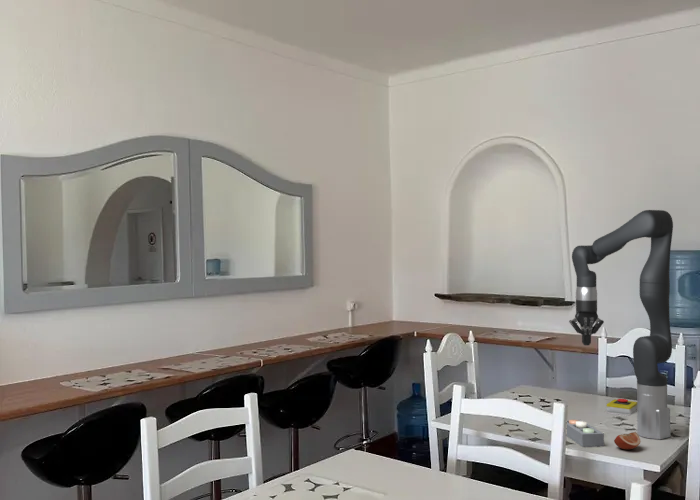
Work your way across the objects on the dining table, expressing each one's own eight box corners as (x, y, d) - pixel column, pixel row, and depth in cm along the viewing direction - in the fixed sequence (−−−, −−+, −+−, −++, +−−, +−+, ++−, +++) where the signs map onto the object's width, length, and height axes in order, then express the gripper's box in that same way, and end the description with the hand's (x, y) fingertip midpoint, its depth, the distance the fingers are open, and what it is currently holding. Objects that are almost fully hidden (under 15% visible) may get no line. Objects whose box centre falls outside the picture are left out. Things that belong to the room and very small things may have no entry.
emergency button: (639, 398, 263) (629, 405, 251) (639, 409, 263) (629, 417, 251) (614, 395, 268) (603, 402, 256) (615, 406, 268) (603, 413, 256)
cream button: (574, 427, 223) (574, 420, 223) (584, 426, 223) (583, 420, 223) (578, 430, 219) (578, 423, 219) (588, 429, 220) (588, 423, 220)
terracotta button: (567, 425, 228) (567, 419, 228) (577, 425, 229) (577, 419, 229) (571, 428, 225) (571, 422, 225) (581, 428, 225) (581, 421, 225)
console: (560, 431, 230) (560, 420, 230) (580, 431, 230) (580, 419, 230) (582, 446, 212) (582, 434, 212) (603, 446, 213) (603, 433, 213)
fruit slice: (627, 444, 214) (627, 429, 214) (646, 449, 209) (645, 433, 209) (609, 448, 210) (609, 432, 210) (627, 454, 204) (627, 437, 204)
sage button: (581, 434, 217) (581, 428, 217) (591, 434, 218) (591, 427, 218) (585, 437, 214) (585, 431, 214) (596, 437, 214) (595, 430, 214)
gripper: (573, 299, 246) (573, 347, 246) (608, 299, 247) (608, 346, 248) (565, 298, 254) (565, 344, 254) (598, 297, 255) (598, 343, 255)
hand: (586, 345), depth 251 cm, fingers closed
